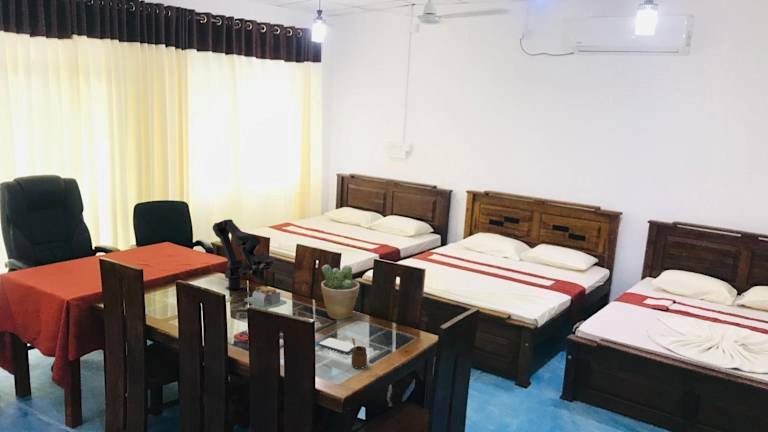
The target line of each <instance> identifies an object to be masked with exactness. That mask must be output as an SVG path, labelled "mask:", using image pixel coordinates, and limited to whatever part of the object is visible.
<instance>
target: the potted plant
mask: <svg viewBox="0 0 768 432" xmlns="http://www.w3.org/2000/svg"><path fill="white" fill-rule="evenodd" d="M321 270H322V274H323V275H324V280H323V281H321V283H320V285H321V286H320V288H321V294H322V295H323V297H322V298H323V302H324V306H325V309H326V313H327V316H328V317H329V318H331V319H334V320H345V318H346V319H349V318H351V317H352V315H353V312H354V310H355V306H356V303H357V298H358V295H359V294H360V293H359V292H360V283H359V282H358V281H356V280H354V278H353V267H352V266H351V265H349V264H348V265H347V264H346V265H344V266H342V269H341V270H339V268H338V267H334V268H332V267H331V266H330V265H329V264H324V265H323V266H322V267H321ZM350 316H351V317H350ZM348 317H349V318H348Z"/></svg>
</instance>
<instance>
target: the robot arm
mask: <svg viewBox="0 0 768 432" xmlns="http://www.w3.org/2000/svg"><path fill="white" fill-rule="evenodd" d="M212 232H214V235H215V236H216V237H217V238H218V239H219V240H220V244H221V246H222V248H223V250H224V254H225V257H226V260H227V265H226V271H225V273H224V277H225V279H227V280H228V286H226V287H225V289H227V288H228V290H230V289H231V290H230V291H232V290H234V291H237V289H238V290H241V288H242V289H243V288H244V287H243V286H241V282H242V281H241V278H244V276H245V275H246V273H247V272H250V273H249V275H250V276H253V277H254V278H256V279H257V280H259V281H260V282H261V283H265V282H266V279H265V271H269V270H271V269H272V267H273V266H274V264H275V262H274V260H273V259H269V260H267V259H268V258H269V254H268V252H267V251H263V252H261V254H258V253H256V250H257V249H258V248H259V246H260V245H261V239H260V238H259V237H257V236H255V234H249V233H247V232H246V231H242V230H241V229H240V228H239V227H238V226H237V225H236V223H234V220H233V219H231V218H230V219H228V218H227V219H223V220H221V221H219V222H215V223H214V224H213V225H212ZM230 235H231V236H232V237H233V238H234V243H235V244H236V246H237V247H238V248H240V247H242V248H240V252H239V254H240V255H241V254H242V255H243V257H244V259H245V262H244V263H245V265H244V263H243V260H242V259H238V257H237V254H236V252H235V250H234V249H235V248H234V246H233V244H232V241H231V237H230Z"/></svg>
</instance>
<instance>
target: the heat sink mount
mask: <svg viewBox="0 0 768 432" xmlns="http://www.w3.org/2000/svg"><path fill="white" fill-rule="evenodd" d="M262 286H263V287H266V285H262ZM258 287H259V286H256V287H255V290H254V291H253V292H252V296H250V297H246V298H244V299H243V301H244V302H246V303H249V304H250V305H254V306H256V305H257V306H256V307H258V306H260V307H259V308H261V309H263V308H265V309H264V310H269V309H271V308H275V307H280V306H283V305H285V304H287V300H284V299H283V298H282V299H281V292H279V291H277V290H276V293H273V294H271V292H268V291H267V290H266V291H263V290H259V289H258Z"/></svg>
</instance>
